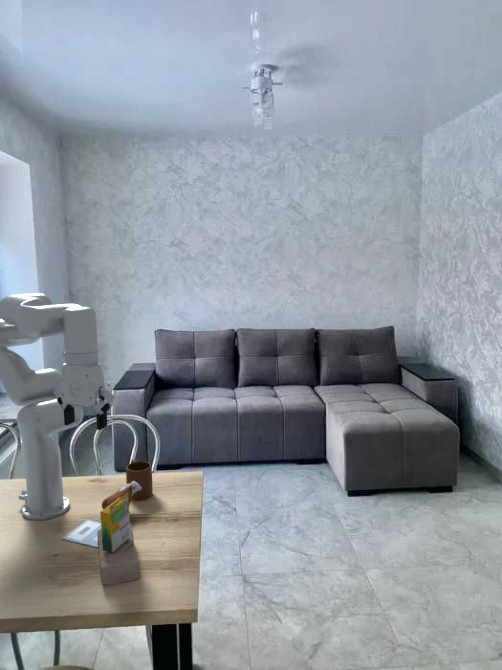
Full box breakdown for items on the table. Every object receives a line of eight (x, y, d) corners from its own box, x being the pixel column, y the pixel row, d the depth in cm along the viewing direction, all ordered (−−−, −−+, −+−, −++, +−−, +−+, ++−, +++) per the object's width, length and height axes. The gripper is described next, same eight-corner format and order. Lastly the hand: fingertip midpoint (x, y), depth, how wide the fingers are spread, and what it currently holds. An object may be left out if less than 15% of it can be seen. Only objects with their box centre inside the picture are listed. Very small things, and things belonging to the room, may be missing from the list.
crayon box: (120, 533, 124) (118, 489, 122) (131, 536, 123) (129, 491, 121) (101, 550, 117) (99, 504, 115) (112, 553, 116) (110, 506, 114)
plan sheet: (62, 539, 130) (62, 538, 130) (87, 520, 139) (87, 519, 139) (108, 550, 125) (108, 549, 125) (131, 529, 135) (131, 528, 134)
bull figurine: (144, 506, 147) (143, 480, 145) (108, 527, 136) (106, 499, 134) (134, 502, 149) (133, 476, 148) (97, 522, 138) (95, 494, 137)
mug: (121, 486, 159) (120, 458, 158) (145, 481, 162) (144, 454, 161) (130, 503, 149) (128, 473, 147) (155, 498, 152) (154, 468, 150)
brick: (140, 578, 114) (139, 560, 114) (101, 586, 112) (100, 567, 111) (131, 539, 130) (131, 522, 129) (97, 545, 127) (96, 528, 126)
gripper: (42, 358, 122) (46, 426, 125) (102, 364, 116) (105, 435, 119) (63, 352, 129) (67, 417, 132) (121, 357, 123) (124, 425, 126)
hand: (85, 425), depth 125 cm, fingers open, 9 cm apart
